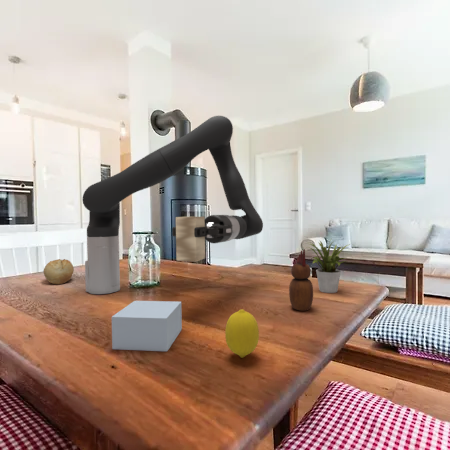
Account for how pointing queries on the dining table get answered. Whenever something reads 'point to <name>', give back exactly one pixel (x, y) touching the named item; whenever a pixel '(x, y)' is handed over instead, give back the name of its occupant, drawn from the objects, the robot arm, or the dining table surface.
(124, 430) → the dining table surface
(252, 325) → the lemon
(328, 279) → the house plant
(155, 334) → the slate block
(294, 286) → the wooden figurine
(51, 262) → the bread roll
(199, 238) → the birch block
